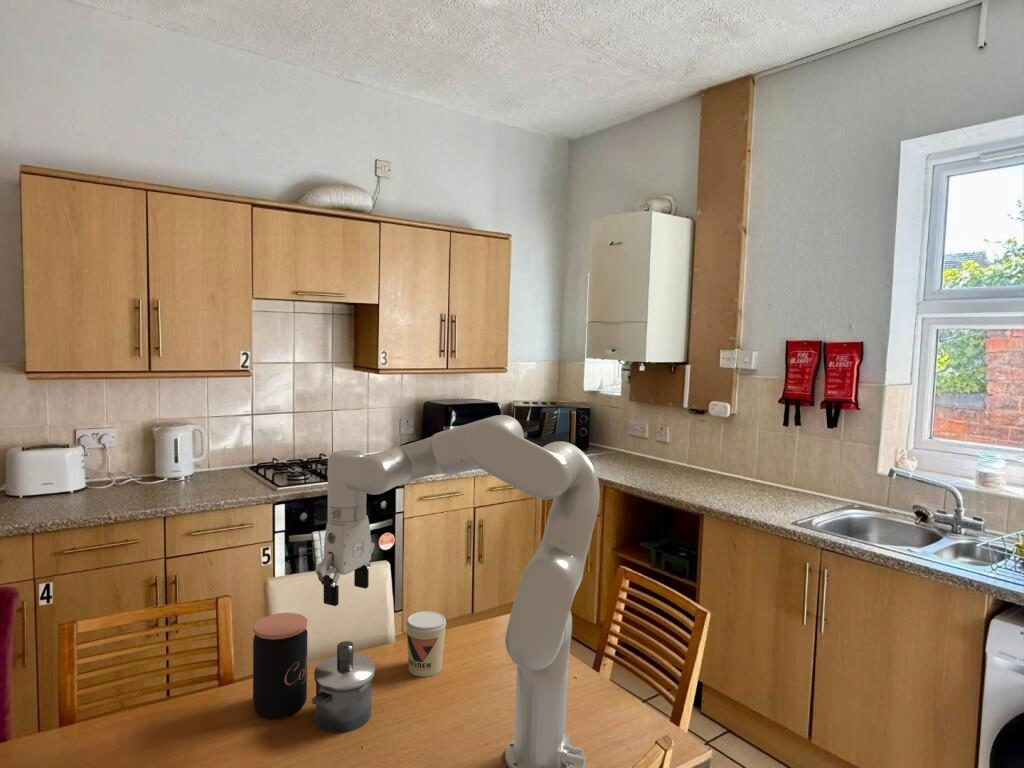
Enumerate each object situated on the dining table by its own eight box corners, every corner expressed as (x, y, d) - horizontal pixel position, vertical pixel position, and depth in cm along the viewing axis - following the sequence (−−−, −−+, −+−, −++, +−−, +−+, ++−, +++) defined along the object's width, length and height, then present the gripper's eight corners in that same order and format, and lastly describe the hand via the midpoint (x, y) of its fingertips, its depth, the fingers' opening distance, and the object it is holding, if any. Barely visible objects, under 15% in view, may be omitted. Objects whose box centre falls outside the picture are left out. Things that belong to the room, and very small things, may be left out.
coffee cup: (398, 674, 148) (399, 624, 148) (415, 655, 157) (416, 608, 157) (435, 681, 146) (436, 630, 145) (451, 662, 155) (452, 614, 154)
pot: (390, 702, 137) (391, 662, 136) (340, 747, 122) (341, 701, 121) (346, 689, 141) (346, 650, 141) (293, 730, 126) (293, 686, 125)
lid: (386, 667, 134) (387, 639, 133) (350, 696, 123) (350, 665, 123) (340, 654, 139) (340, 627, 138) (301, 681, 128) (301, 651, 127)
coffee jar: (289, 725, 128) (290, 638, 127) (241, 717, 130) (242, 631, 129) (316, 696, 138) (317, 615, 137) (271, 689, 140) (272, 609, 139)
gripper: (334, 526, 119) (334, 615, 120) (387, 504, 135) (386, 584, 136) (302, 520, 122) (302, 608, 123) (358, 500, 138) (357, 578, 139)
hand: (346, 595), depth 130 cm, fingers open, 9 cm apart
